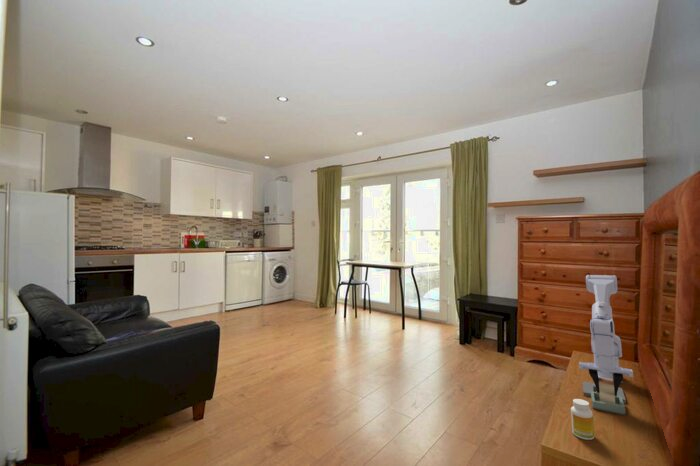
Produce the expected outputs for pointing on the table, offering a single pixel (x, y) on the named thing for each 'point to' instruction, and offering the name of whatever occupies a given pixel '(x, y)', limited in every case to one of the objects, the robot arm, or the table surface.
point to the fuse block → (606, 390)
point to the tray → (608, 404)
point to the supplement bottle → (582, 420)
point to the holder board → (591, 387)
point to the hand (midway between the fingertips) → (606, 393)
